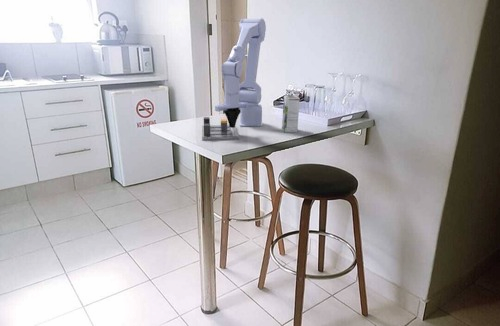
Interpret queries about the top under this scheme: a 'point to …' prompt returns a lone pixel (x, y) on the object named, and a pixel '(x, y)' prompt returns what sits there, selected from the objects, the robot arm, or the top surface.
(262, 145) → the top surface
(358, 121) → the top surface
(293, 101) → the syrup box
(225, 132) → the panel
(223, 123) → the toggle
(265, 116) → the top surface
